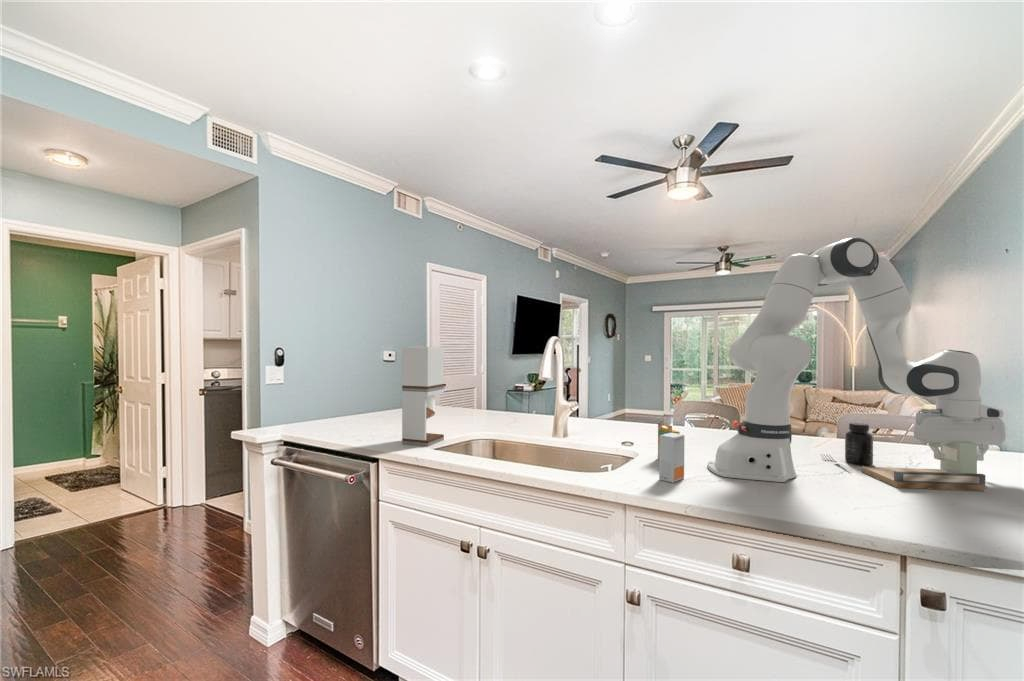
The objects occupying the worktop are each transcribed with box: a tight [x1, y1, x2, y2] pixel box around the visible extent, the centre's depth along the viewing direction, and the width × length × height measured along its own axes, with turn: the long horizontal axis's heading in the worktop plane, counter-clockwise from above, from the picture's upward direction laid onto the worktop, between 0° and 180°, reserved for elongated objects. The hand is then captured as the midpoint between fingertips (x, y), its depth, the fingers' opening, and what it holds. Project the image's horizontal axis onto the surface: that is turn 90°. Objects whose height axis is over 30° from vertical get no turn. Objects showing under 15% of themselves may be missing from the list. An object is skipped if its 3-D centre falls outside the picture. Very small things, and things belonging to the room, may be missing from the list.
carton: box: [939, 442, 978, 474], centre depth 124 cm, size 4×6×10 cm, turn 173°
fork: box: [820, 453, 855, 474], centre depth 133 cm, size 3×24×2 cm, turn 168°
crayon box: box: [657, 421, 681, 460], centre depth 141 cm, size 7×3×12 cm, turn 16°
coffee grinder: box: [401, 346, 445, 447], centre depth 168 cm, size 11×11×35 cm
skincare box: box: [658, 433, 685, 484], centre depth 123 cm, size 6×4×12 cm
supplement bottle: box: [844, 422, 874, 467], centre depth 139 cm, size 7×7×12 cm
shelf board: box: [861, 466, 986, 491], centre depth 121 cm, size 20×14×4 cm
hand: (958, 459), depth 124 cm, fingers open, 8 cm apart
